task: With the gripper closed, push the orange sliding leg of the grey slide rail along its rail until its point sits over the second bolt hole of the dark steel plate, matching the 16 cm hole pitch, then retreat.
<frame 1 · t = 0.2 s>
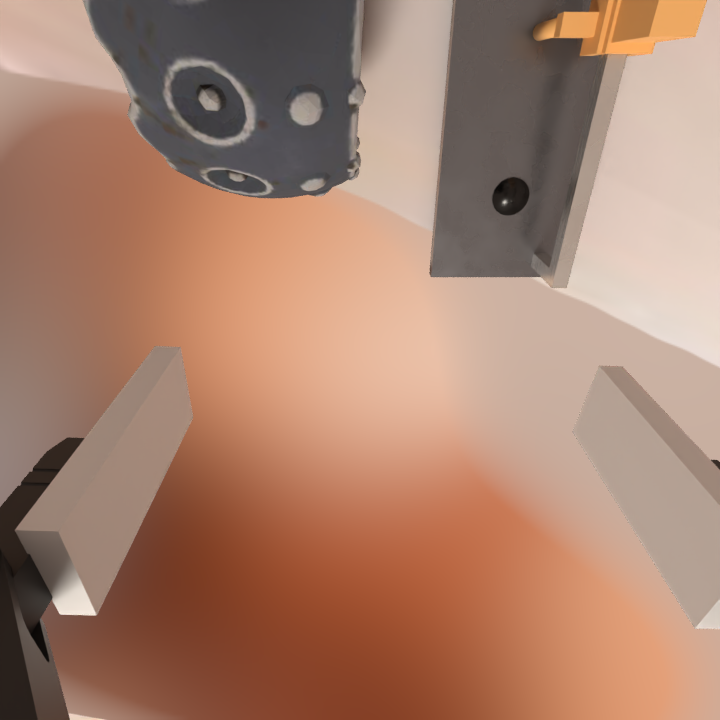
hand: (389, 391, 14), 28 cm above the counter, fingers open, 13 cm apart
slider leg: (608, 23, 27), point 6 cm above the counter, slide at 2.0 cm
studded round pot: (288, 16, 32), on the counter
bolt plate: (523, 98, 34), on the counter
grey slide rail: (568, 98, 34), resting on bolt plate
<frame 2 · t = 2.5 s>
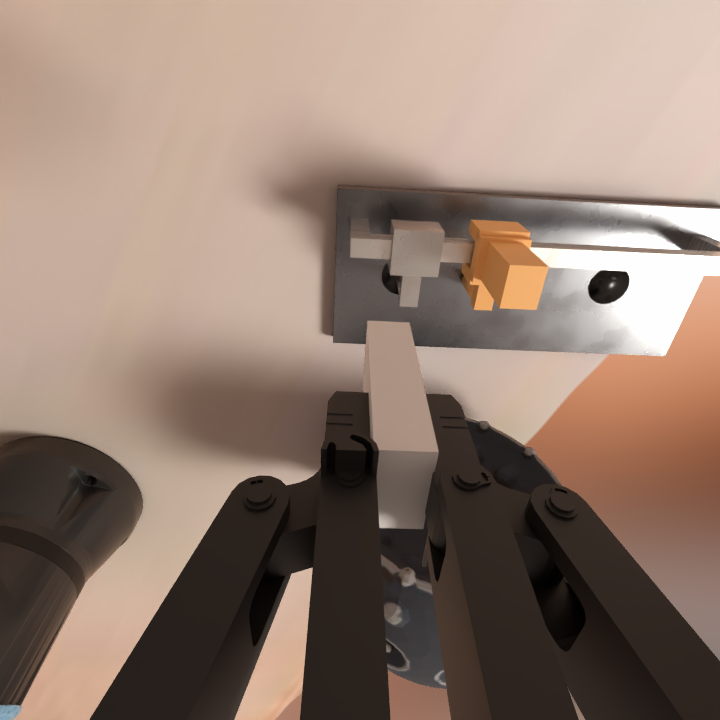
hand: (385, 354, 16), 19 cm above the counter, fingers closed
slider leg: (492, 274, 28), point 6 cm above the counter, slide at 2.0 cm
studded round pot: (422, 442, 44), on the counter
bolt plate: (515, 276, 35), on the counter
grey slide rail: (526, 231, 33), resting on bolt plate
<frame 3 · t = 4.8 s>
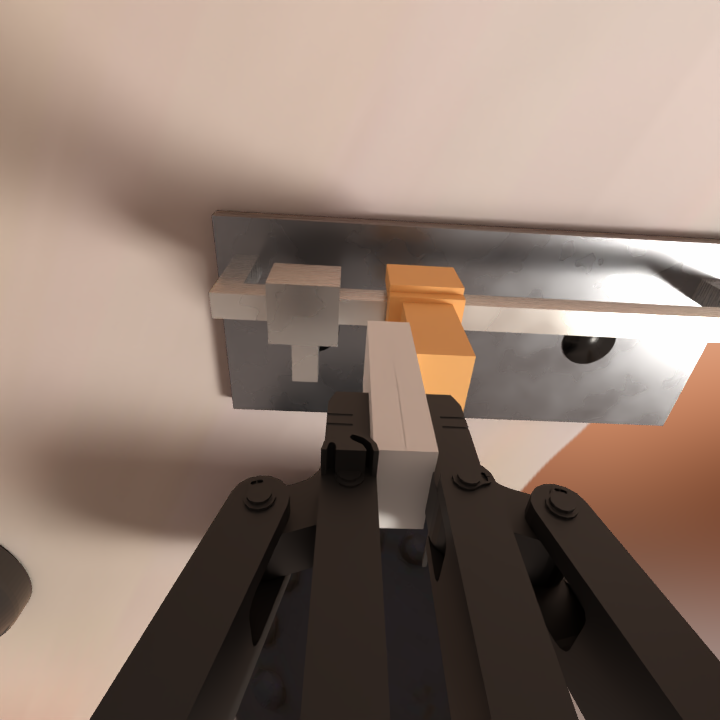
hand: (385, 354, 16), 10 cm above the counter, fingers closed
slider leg: (417, 342, 20), point 6 cm above the counter, slide at 2.0 cm, touching gripper
studded round pot: (363, 517, 36), on the counter
bolt plate: (466, 327, 27), on the counter
grey slide rail: (477, 271, 25), resting on bolt plate
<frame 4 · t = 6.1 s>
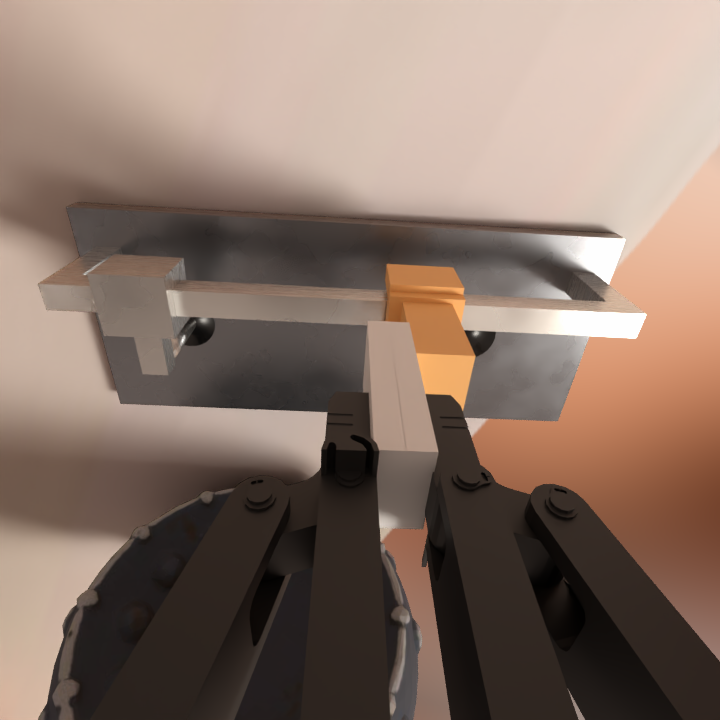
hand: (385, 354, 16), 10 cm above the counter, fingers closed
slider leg: (417, 341, 20), point 6 cm above the counter, slide at 9.1 cm, touching gripper
studded round pot: (275, 514, 35), on the counter
bolt plate: (347, 321, 26), on the counter
grey slide rail: (350, 264, 25), resting on bolt plate
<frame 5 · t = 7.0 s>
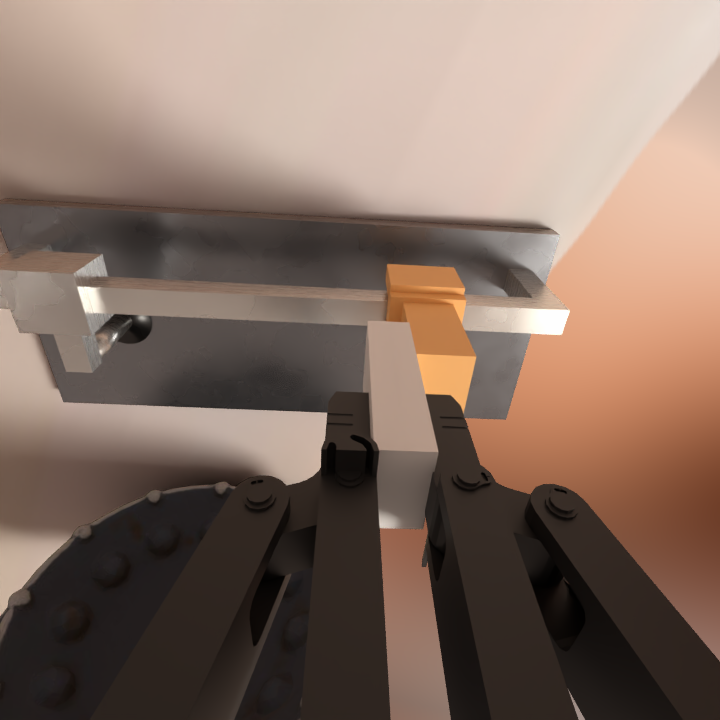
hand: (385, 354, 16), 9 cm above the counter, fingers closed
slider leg: (417, 342, 20), point 6 cm above the counter, slide at 12.6 cm, touching gripper
studded round pot: (231, 513, 35), on the counter
bolt plate: (288, 319, 26), on the counter
grey slide rail: (286, 261, 24), resting on bolt plate
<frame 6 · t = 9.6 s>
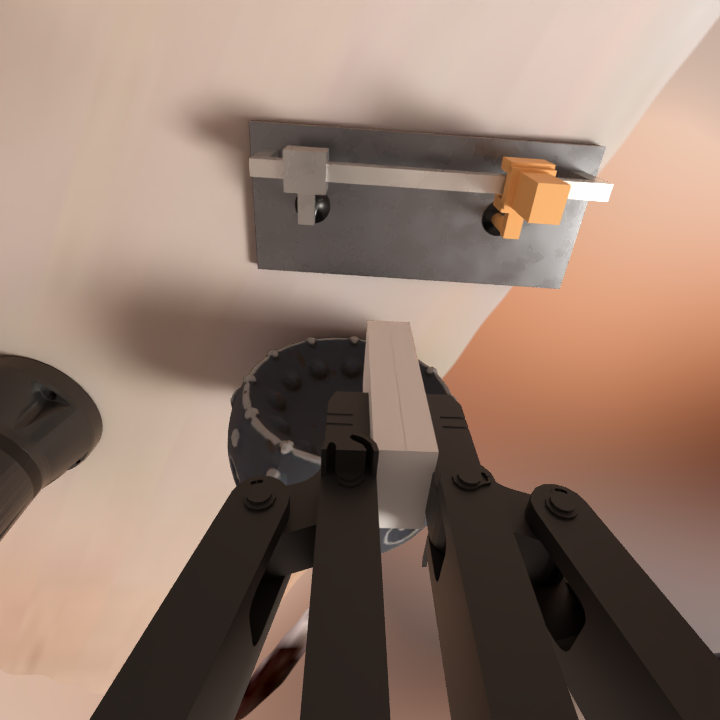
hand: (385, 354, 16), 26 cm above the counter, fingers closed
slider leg: (521, 204, 32), point 6 cm above the counter, slide at 12.7 cm
studded round pot: (349, 371, 48), on the counter
bolt plate: (417, 209, 39), on the counter
grey slide rail: (422, 166, 37), resting on bolt plate
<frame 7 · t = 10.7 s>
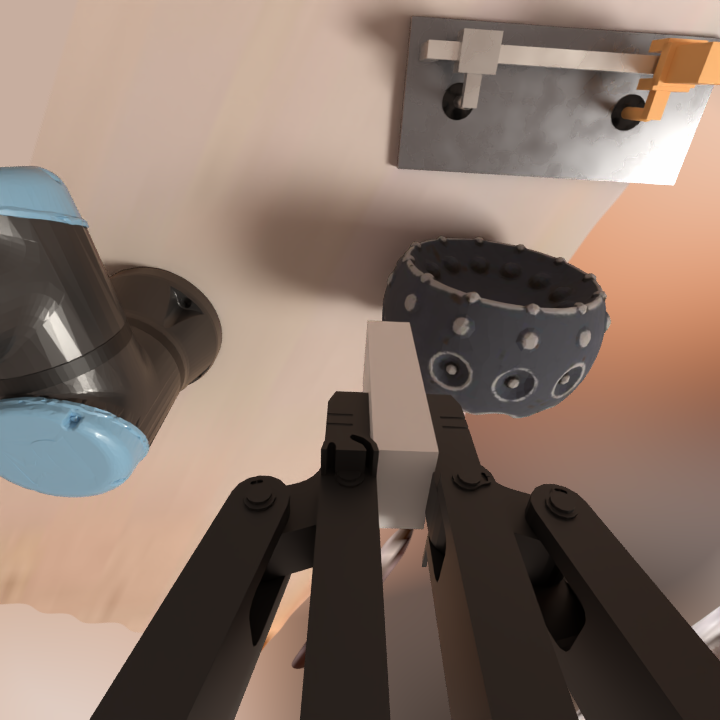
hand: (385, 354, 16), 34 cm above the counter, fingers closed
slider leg: (669, 83, 36), point 6 cm above the counter, slide at 12.7 cm
studded round pot: (464, 278, 52), on the counter
bolt plate: (550, 107, 42), on the counter
grey slide rail: (561, 63, 40), resting on bolt plate
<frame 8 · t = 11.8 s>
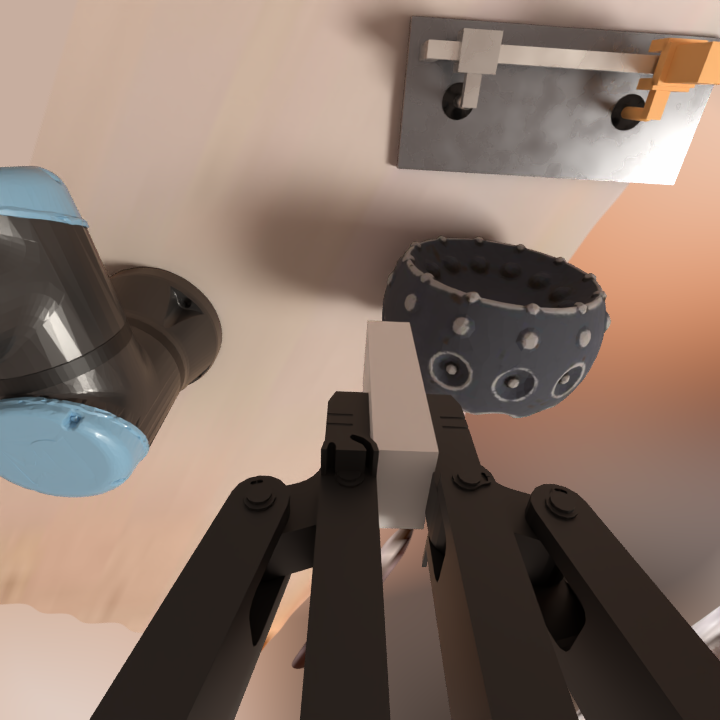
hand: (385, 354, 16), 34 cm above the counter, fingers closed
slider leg: (669, 82, 36), point 6 cm above the counter, slide at 12.7 cm
studded round pot: (464, 278, 52), on the counter
bolt plate: (550, 107, 42), on the counter
grey slide rail: (561, 63, 40), resting on bolt plate
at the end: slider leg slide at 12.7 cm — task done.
